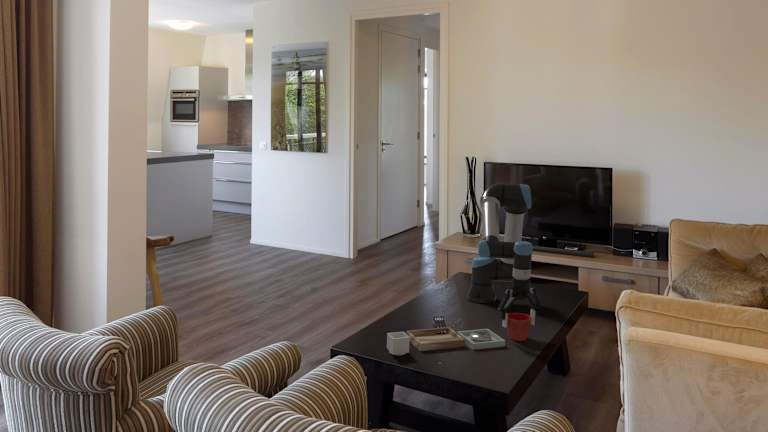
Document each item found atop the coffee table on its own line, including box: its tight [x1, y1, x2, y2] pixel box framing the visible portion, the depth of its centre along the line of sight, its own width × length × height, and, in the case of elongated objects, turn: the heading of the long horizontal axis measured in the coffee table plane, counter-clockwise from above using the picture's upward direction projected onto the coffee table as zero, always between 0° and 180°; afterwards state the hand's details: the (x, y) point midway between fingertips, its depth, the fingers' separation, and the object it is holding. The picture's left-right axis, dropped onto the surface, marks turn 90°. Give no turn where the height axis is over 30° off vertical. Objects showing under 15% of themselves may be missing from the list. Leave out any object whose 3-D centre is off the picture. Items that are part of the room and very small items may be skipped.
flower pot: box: [506, 312, 532, 342], centre depth 256 cm, size 11×11×10 cm
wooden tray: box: [405, 326, 466, 352], centre depth 249 cm, size 16×20×3 cm
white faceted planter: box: [386, 331, 410, 356], centre depth 237 cm, size 7×7×7 cm
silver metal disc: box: [470, 332, 491, 341], centre depth 251 cm, size 9×9×1 cm
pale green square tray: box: [456, 328, 506, 351], centre depth 251 cm, size 15×15×2 cm
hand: (518, 325), depth 256 cm, fingers open, 13 cm apart
